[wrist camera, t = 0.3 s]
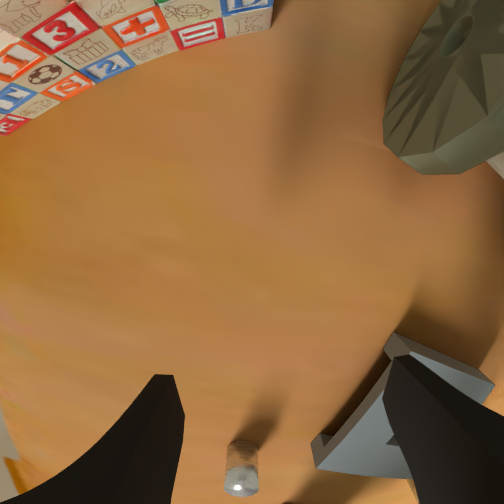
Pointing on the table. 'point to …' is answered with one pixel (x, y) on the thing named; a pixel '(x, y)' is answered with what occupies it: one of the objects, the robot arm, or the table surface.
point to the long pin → (413, 488)
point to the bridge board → (376, 422)
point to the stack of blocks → (101, 43)
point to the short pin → (241, 469)
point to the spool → (451, 92)
